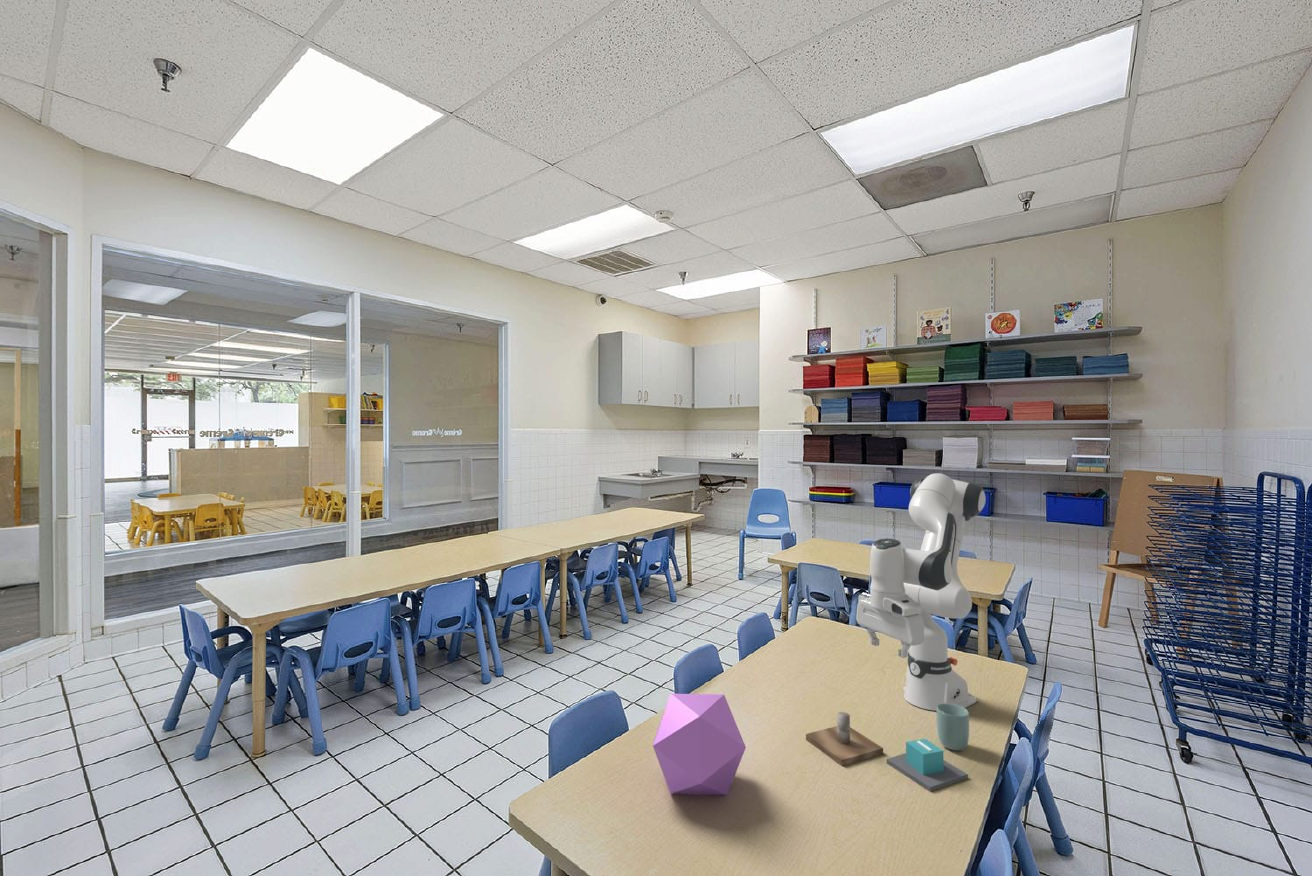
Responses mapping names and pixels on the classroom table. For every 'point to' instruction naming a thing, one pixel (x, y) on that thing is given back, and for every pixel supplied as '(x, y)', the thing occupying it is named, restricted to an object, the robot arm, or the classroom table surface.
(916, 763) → the teal cube
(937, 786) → the mat
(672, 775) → the icosahedron
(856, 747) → the post base
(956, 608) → the robot arm
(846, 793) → the classroom table surface
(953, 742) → the cup
